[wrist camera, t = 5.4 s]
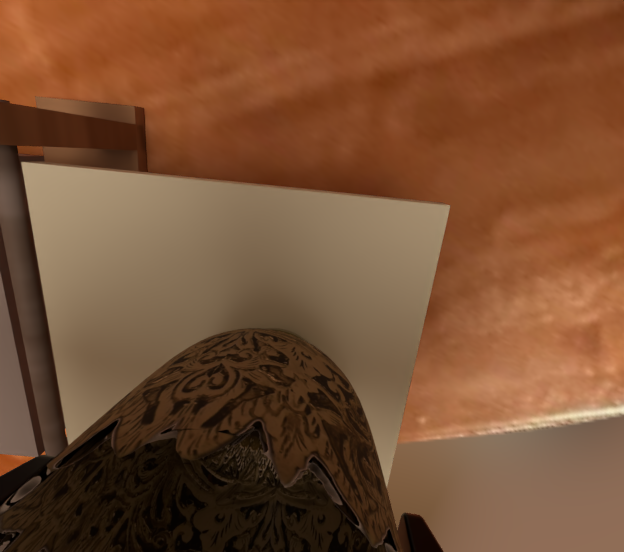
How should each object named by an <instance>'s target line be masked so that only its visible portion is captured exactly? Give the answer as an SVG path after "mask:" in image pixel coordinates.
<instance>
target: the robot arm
mask: <svg viewBox="0 0 624 552" xmlns="http://www.w3.org/2000/svg"><path fill="white" fill-rule="evenodd" d="M53 458H54V456H48V455H40V456H37V457H35V458H33V459H32V460H30V461H28V462H26V463H24V464H22V465H20V466H19V467H17V468H15V469H13V470H11V471H9V472H7V473H6V474H4V475H2V476H0V506H1V505H2V504H3V503H4V502H5V501H6V500H7V499H8V498H9V497H10V496H11V495H13V494H14V493H15V492H16V491H17V490H18V489H19V488H20V487H21V486H22V485H23V484H24V483H25V482H26V481H28V480H29V479H30V478H31V477H32V476H33V475H34V474H36V473H37V472H38V471H39V470H40V469H41V468H42V467H43V466H44V465H46V464H47V463H48V462H49V461H51V460H52V459H53ZM397 532H398V536H399V540H400V543H401V547H402V548H403V552H443V550H442V548H441V547H440V545H439V544H438V542H437V540H436V538H435V537H434V535H433V534H432V532H431V530H430V529H429V527H428V525H427V524H426V522H425V520H424V519H423V518H422V517H421V516H420V515H417V514H411V513H403V514H402V516H401V519H400V523H399V527H398V531H397ZM6 535H7V534H2V533H0V542H1V540H2V539H3V538H4V537H5V536H6Z"/></svg>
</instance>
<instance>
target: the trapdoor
mask: <svg viewBox="0 0 624 552" xmlns="http://www.w3.org/2000/svg"><path fill="white" fill-rule="evenodd" d="M18 155H19V161H20V167H21V173H22V179H23V185H24V191H25V197H26V203H27V209H28V215H29V221H30V227H31V232H32V238H33V244H34V250H35V256H36V262H37V268H38V274H39V280H40V286H41V292H42V298H43V304H44V310H45V316H46V322H47V328H48V333H49V339H50V345H51V351H52V357H53V363H54V369H55V375H56V381H57V387H58V393H59V399H60V405H61V411H62V417H63V423H64V429H65V428H66V433H67V439H68V445H69V444H71V443H72V442H73V441H74V440H75V439H76V438H77V437H79V436H80V435H81V434H82V433H83V432H84V431H85V430H87V429H88V428H89V427H90V426H91V425H92V424H94V423H95V422H96V421H97V420H98V419H99V418H100V417H102V416H103V415H104V414H105V413H106V412H107V411H109V410H110V409H111V408H112V407H113V406H114V405H116V404H117V403H118V402H119V401H120V400H121V399H123V398H124V397H125V396H126V395H127V394H128V393H130V392H131V391H132V390H133V389H134V388H135V387H137V386H138V385H139V384H140V383H141V382H143V381H144V380H145V379H146V378H147V377H149V376H150V375H151V374H152V373H154V372H155V371H156V370H157V369H159V368H160V367H161V366H162V365H164V364H165V363H166V362H167V361H169V360H170V359H172V358H173V357H174V356H176V355H177V354H179V353H180V352H182V351H183V350H185V349H187V348H188V347H190V346H192V345H194V344H196V343H197V342H199V341H201V340H204V339H206V338H208V337H210V336H213V335H216V334H220V333H223V332H227V331H232V330H237V329H247V328H261V329H265V328H280V329H285V330H289V331H291V332H294V333H296V334H298V335H300V336H301V337H302V338H304V339H305V340H306V341H307V342H308V343H310V344H312V345H314V346H315V347H316V348H318V349H319V350H321V351H322V352H323V353H325V354H326V355H327V356H328V357H329V358H330V359H331V360H332V361H333V362H334V363H335V364H336V365H337V366H338V367H339V368H340V370H341V371H342V372H343V373H344V374H345V376H346V377H347V379H348V380H349V381H350V383H351V385H352V387H353V389H354V390H355V392H356V394H357V396H358V398H359V400H360V402H361V405H362V407H363V410H364V412H365V415H366V418H367V420H368V423H369V426H370V429H371V432H372V436H373V439H374V443H375V446H376V450H377V454H378V457H379V461H380V465H381V469H382V472H383V476H384V480H385V484H386V488H387V485H388V480H389V476H390V471H391V467H392V462H393V457H394V454H395V449H396V445H397V440H398V436H399V431H400V427H401V423H402V418H403V414H404V409H405V405H406V400H407V396H408V392H409V387H410V383H411V378H412V374H413V369H414V365H415V361H416V356H417V352H418V347H419V343H420V338H421V334H422V330H423V325H424V321H425V316H426V312H427V307H428V303H429V298H430V294H431V290H432V285H433V281H434V276H435V272H436V267H437V263H438V259H439V254H440V250H441V245H442V241H443V236H444V232H445V228H446V223H447V219H448V214H449V210H450V205H447V204H445V203H441V202H431V201H421V200H411V199H402V198H392V197H382V196H372V195H363V194H353V193H343V192H333V191H323V190H314V189H304V188H294V187H284V186H275V185H265V184H255V183H245V182H235V181H226V180H216V179H206V178H196V177H187V176H177V175H167V174H157V173H147V172H138V171H128V170H118V169H108V168H99V167H89V166H79V165H69V164H59V163H50V162H45V160H44V156H37V155H27V154H18ZM44 451H45V448H44V443H43V438H42V433H41V428H40V423H39V418H38V413H37V408H36V403H35V397H34V392H33V387H32V382H31V377H30V372H29V367H28V362H27V357H26V352H25V347H24V341H23V336H22V331H21V326H20V321H19V316H18V311H17V306H16V301H15V296H14V290H13V285H12V280H11V275H10V270H9V265H8V260H7V255H6V250H5V245H4V240H3V234H2V229H1V224H0V454H8V455H20V456H31V457H37V456H40V455H41V454H42V453H43V452H44Z"/></svg>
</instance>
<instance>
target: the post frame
mask: <svg viewBox="0 0 624 552" xmlns="http://www.w3.org/2000/svg"><path fill="white" fill-rule="evenodd" d="M35 98H36V105H37V108H35V107H29V106H23V105H17V104H11V103H10V102H9V101H6V100H0V224H1V229H2V234H3V240H4V245H5V250H6V255H7V260H8V265H9V270H10V275H11V280H12V285H13V290H14V296H15V301H16V306H17V311H18V316H19V321H20V326H21V331H22V336H23V341H24V347H25V352H26V357H27V362H28V367H29V372H30V377H31V382H32V387H33V392H34V397H35V403H36V408H37V413H38V418H39V423H40V428H41V433H42V438H43V443H44V448H45V453H46V455H48V456H54V457H56V456H57V455H58V454H59V453H60V452H61V451H63V450H64V449H65V448H66V447H67V446H68V439H67V437H66V434H65V429H64V423H63V417H62V411H61V405H60V399H59V393H58V387H57V381H56V375H55V369H54V363H53V357H52V351H51V345H50V339H49V333H48V328H47V322H46V316H45V310H44V304H43V298H42V292H41V286H40V280H39V274H38V268H37V262H36V256H35V250H34V244H33V238H32V232H31V227H30V221H29V215H28V209H27V203H26V197H25V191H24V185H23V179H22V173H21V167H20V161H19V155H18V149H17V145H18V146H42V147H43V153H44V160H45V162H50V163H59V164H69V165H79V166H89V167H99V168H108V169H118V170H128V171H138V172H147V160H146V142H145V124H144V108H140V107H136V106H128V105H117V104H107V103H97V102H87V101H77V100H67V99H56V98H46V97H36V96H35Z"/></svg>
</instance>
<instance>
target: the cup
mask: <svg viewBox="0 0 624 552" xmlns="http://www.w3.org/2000/svg"><path fill="white" fill-rule="evenodd" d="M0 533H2V534H7V535H6V536H5V537H4V538H3V539H2V540H1V542H0V552H403V548H402V547H401V543H400V540H399V536H398V532H397V528H396V524H395V520H394V516H393V512H392V508H391V504H390V500H389V496H388V492H387V488H386V484H385V480H384V476H383V472H382V469H381V465H380V461H379V457H378V454H377V450H376V446H375V443H374V439H373V436H372V432H371V429H370V426H369V423H368V420H367V418H366V415H365V412H364V410H363V407H362V405H361V402H360V400H359V398H358V396H357V394H356V392H355V390H354V389H353V387H352V385H351V383H350V381H349V380H348V379H347V377H346V376H345V374H344V373H343V372H342V371H341V370H340V368H339V367H338V366H337V365H336V364H335V363H334V362H333V361H332V360H331V359H330V358H329V357H328V356H327V355H326V354H325V353H323V352H322V351H321V350H319V349H318V348H316V347H315V346H314V345H312V344H310V343H308V342H307V341H306V340H305V339H304V338H302V337H301V336H300V335H298V334H296V333H294V332H291V331H289V330H285V329H280V328H265V329H261V328H247V329H237V330H232V331H227V332H223V333H220V334H216V335H213V336H210V337H208V338H206V339H204V340H201V341H199V342H197V343H196V344H194V345H192V346H190V347H188V348H187V349H185V350H183V351H182V352H180V353H179V354H177V355H176V356H174V357H173V358H172V359H170V360H169V361H167V362H166V363H165V364H164V365H162V366H161V367H160V368H159V369H157V370H156V371H155V372H154V373H152V374H151V375H150V376H149V377H147V378H146V379H145V380H144V381H143V382H141V383H140V384H139V385H138V386H137V387H135V388H134V389H133V390H132V391H131V392H130V393H128V394H127V395H126V396H125V397H124V398H123V399H121V400H120V401H119V402H118V403H117V404H116V405H114V406H113V407H112V408H111V409H110V410H109V411H107V412H106V413H105V414H104V415H103V416H102V417H100V418H99V419H98V420H97V421H96V422H95V423H94V424H92V425H91V426H90V427H89V428H88V429H87V430H85V431H84V432H83V433H82V434H81V435H80V436H79V437H77V438H76V439H75V440H74V441H73V442H72V443H71V444H69V445H68V446H67V447H66V448H65V449H64V450H63V451H61V452H60V453H59V454H58V455H57V456H56V457H54V458H53V459H52V460H51V461H49V462H48V463H47V464H46V465H44V466H43V467H42V468H41V469H40V470H39V471H38V472H37V473H36V474H34V475H33V476H32V477H31V478H30V479H29V480H28V481H26V482H25V483H24V484H23V485H22V486H21V487H20V488H19V489H18V490H17V491H16V492H15V493H14V494H13V495H11V496H10V497H9V498H8V499H7V500H6V501H5V502H4V503H3V504H2V505H1V506H0Z"/></svg>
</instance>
